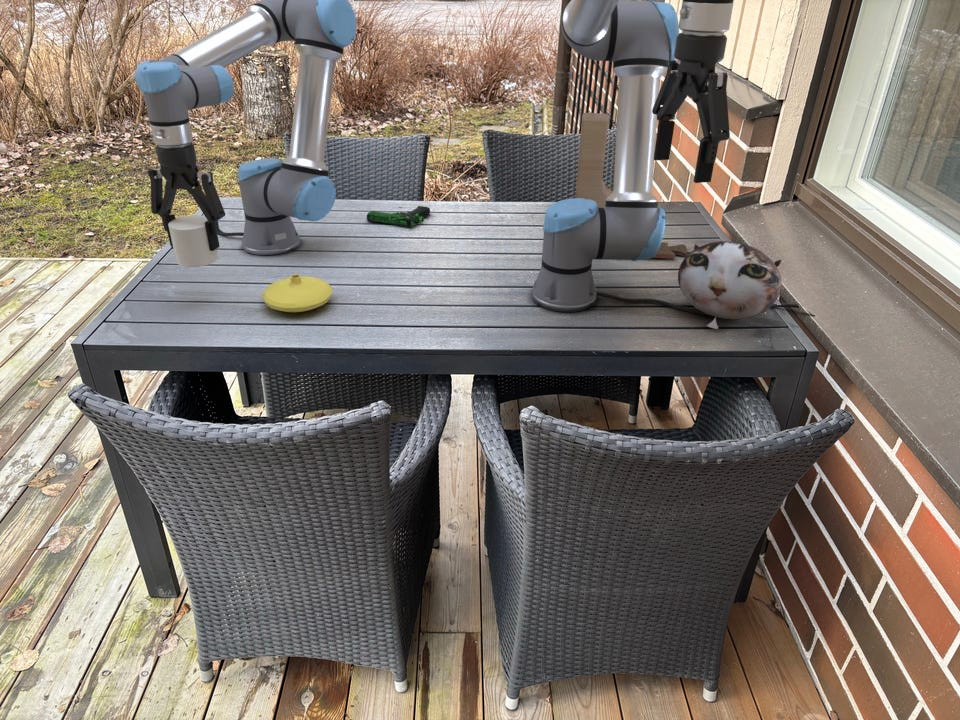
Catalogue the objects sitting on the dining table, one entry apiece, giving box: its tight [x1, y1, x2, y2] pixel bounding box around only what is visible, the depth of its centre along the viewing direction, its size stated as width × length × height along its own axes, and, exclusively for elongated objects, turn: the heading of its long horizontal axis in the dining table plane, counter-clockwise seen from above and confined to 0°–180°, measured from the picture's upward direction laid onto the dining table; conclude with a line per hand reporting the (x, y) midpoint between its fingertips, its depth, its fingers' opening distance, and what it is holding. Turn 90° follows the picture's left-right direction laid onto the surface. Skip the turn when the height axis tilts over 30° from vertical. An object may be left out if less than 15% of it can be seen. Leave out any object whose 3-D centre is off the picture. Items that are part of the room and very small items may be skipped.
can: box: [168, 214, 220, 268], centre depth 158 cm, size 9×9×9 cm
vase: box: [261, 273, 333, 313], centre depth 164 cm, size 16×16×7 cm
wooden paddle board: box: [652, 241, 688, 259], centre depth 196 cm, size 26×2×10 cm
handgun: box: [366, 205, 431, 229], centre depth 216 cm, size 16×3×15 cm
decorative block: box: [574, 112, 613, 208], centre depth 213 cm, size 8×15×30 cm, turn 82°
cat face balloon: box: [677, 240, 783, 330], centre depth 159 cm, size 22×18×20 cm
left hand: (195, 246), depth 159 cm, fingers closed on can, 9 cm apart
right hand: (680, 170), depth 121 cm, fingers open, 13 cm apart
